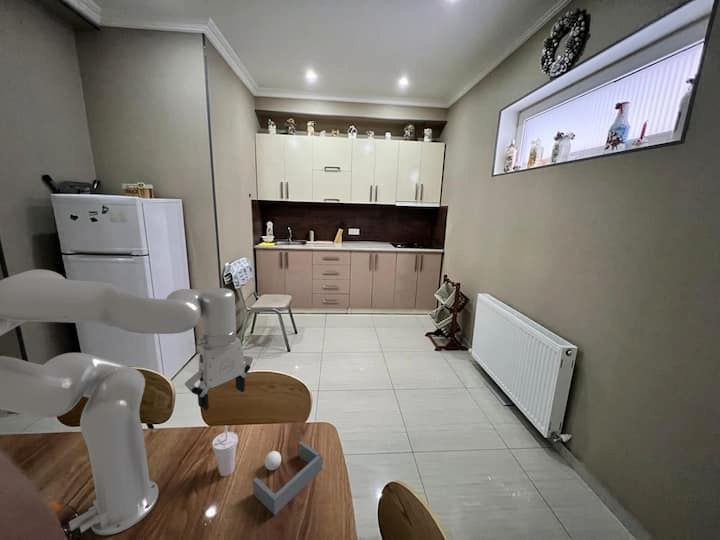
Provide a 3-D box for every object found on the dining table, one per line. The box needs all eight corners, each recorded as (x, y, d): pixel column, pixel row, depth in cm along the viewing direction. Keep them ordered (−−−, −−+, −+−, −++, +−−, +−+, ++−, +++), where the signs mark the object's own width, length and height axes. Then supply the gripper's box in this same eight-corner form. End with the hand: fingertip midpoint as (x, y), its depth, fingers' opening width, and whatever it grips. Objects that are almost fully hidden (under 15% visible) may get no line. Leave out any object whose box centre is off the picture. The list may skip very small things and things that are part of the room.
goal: (274, 515, 68) (274, 499, 67) (253, 494, 73) (253, 479, 72) (322, 469, 81) (322, 455, 80) (301, 453, 86) (301, 440, 85)
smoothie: (229, 483, 76) (227, 437, 73) (208, 478, 77) (205, 432, 74) (244, 463, 82) (242, 420, 79) (224, 458, 83) (221, 416, 80)
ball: (271, 477, 78) (271, 463, 77) (261, 468, 80) (261, 454, 79) (284, 466, 81) (284, 452, 80) (274, 458, 84) (274, 444, 83)
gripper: (190, 354, 63) (195, 422, 66) (259, 331, 77) (260, 389, 80) (176, 344, 67) (181, 409, 70) (243, 324, 81) (245, 379, 84)
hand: (223, 398), depth 75 cm, fingers open, 9 cm apart
